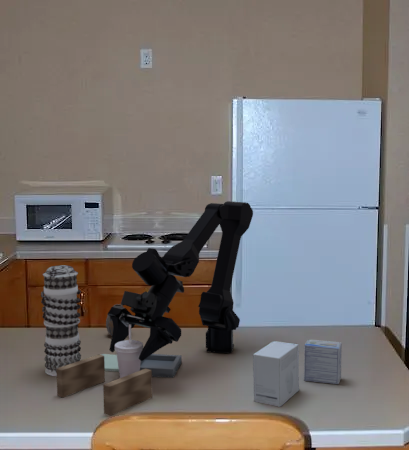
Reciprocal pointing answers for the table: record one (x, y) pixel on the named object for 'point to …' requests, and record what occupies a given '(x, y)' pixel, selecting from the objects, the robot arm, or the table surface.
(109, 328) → the vase
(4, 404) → the table surface
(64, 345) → the decorative candle
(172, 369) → the tray
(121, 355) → the smoothie
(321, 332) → the table surface
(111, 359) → the mat
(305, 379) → the medicine box
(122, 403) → the lane
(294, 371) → the skincare box
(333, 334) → the table surface
